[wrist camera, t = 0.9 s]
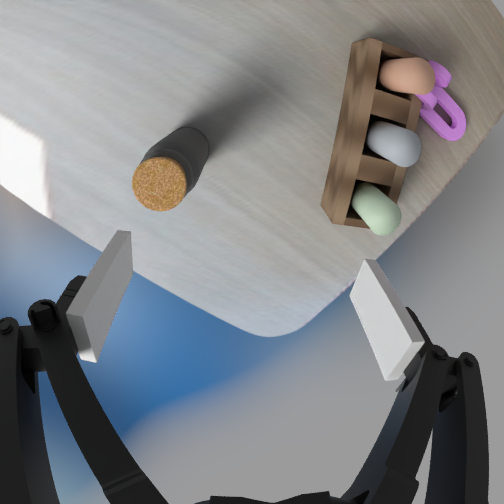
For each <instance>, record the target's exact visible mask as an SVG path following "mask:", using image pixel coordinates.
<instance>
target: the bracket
mask: <svg viewBox="0 0 504 504" xmlns="http://www.w3.org/2000/svg"><path fill="white" fill-rule="evenodd" d="M428 61H429V62H428V63H429V64H430V65H431V66H432V68H433V70H434V73H435V86H434V88H433V90H432V91H431V92H430V93H428V94H426V95H419V94H415V95H416V96H417V97H418V98H419V99H420V100H421V101H422V104H421V109H420V114H419V115H420V116H421V117H422V118H423V119H424V120H425V121H426V122H427V123H428V124H429V125H430V126H431V127H432V128H433V129H434V130H435V131H436V132H437V133H438V134H439V135H440V136H441V137H442V138H445V139H447V140H450V141H456V140H458V139H460V138H461V137H462V136H463V134H464V132H465V129H466V118H465V115H464V113H463V111H462V110H461V108H460V107H459V106H458V105H457V104H456V103H455V101H454V100H453V99H452V98H451V97H450V96H449V95H448V94H447V93H446V92H445V90H444V89H443V88H442V87H444V88H445V87H447V86H448V84H449V82H450V81H451V79H452V76H451V74H450V73H449V72H448V70H447V69H446V68H444V67H443V66H442V65H440V64H439V63H437V62H435V61H432V60H428ZM436 103H438V104H439V105H440V106H441V107H442V108H443V109H444V110H445V111H446V112H447V113H448V115H449V116H450V117H451V118H452V124H451V126H450V127H449V126H448V125H447V124H446V122H445V121H444V120H443V119H442V118H441V117H440V116H439V115H438V114H437V113H436V112H435V111H434V110H433V108H434V107H435V105H436Z"/></svg>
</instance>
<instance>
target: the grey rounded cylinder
mask: <svg viewBox="0 0 504 504" xmlns="http://www.w3.org/2000/svg"><path fill="white" fill-rule="evenodd" d="M365 142H366V144H367V146H368V148H369V149H370V150H372V151H374V152H375V153H377V154H379V155H381V156H383V157H384V158H386V159H388V160H390V161H391V162H393V163H395V164H396V165H398V166H401V167H409V166H411V165H413V164H414V163H415V162H416V161H417V160H418V158H419V156H420V154H421V142H420V139H419V137H418V136H417V135H416V134H415V133H414V132H413V131H411V130H408V129H405V128H402V127H399V126H396V125H393V124H390V123H387V122H383V121H375V122H373V123H371V124H370V125H369V126H368V128H367V133H366V137H365Z"/></svg>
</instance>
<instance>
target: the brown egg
mask: <svg viewBox="0 0 504 504" xmlns="http://www.w3.org/2000/svg"><path fill="white" fill-rule="evenodd" d="M377 79H378V81H379V83H380V84H381V86H382V87H383V88H385V89H386V90H389V91H394V92H403V93H412V94H419V95H426V94H428V93H430V92H431V91H432V90H433V88H434V86H435V73H434V70H433V68H432V66H431V65H430V64H429V63H428V62H427V61H426V60H424V59H422V58H418V57H415V58H402V59H391V60H385V61H383V62H381V63H380V64H379V68H378V74H377Z"/></svg>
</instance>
